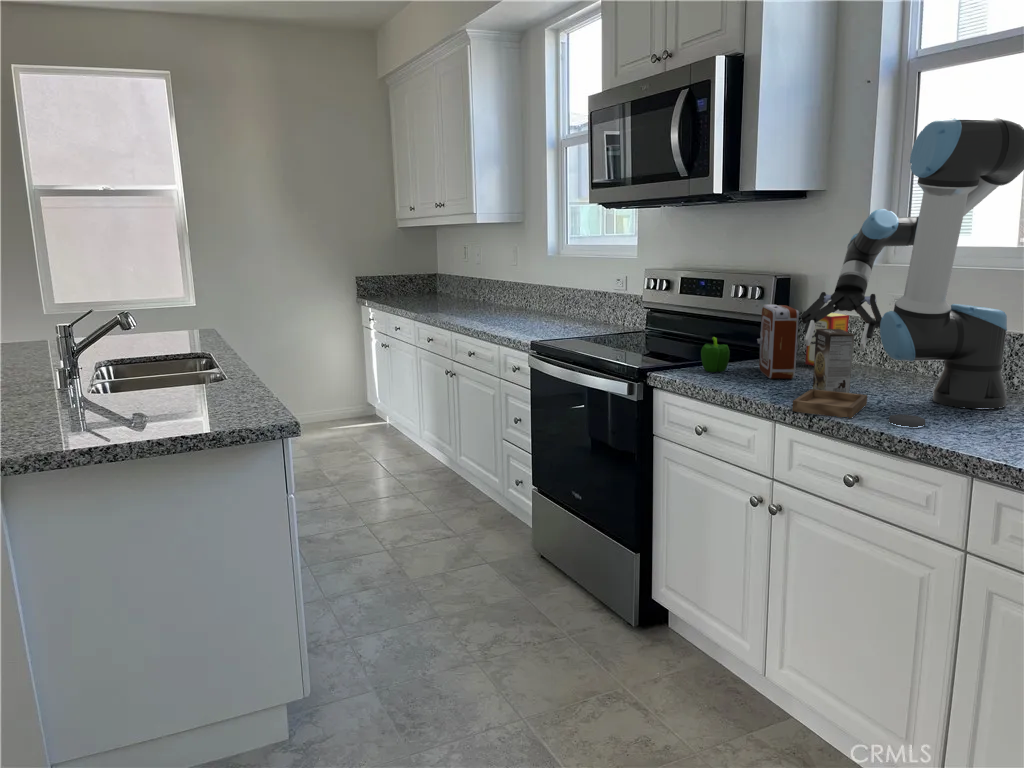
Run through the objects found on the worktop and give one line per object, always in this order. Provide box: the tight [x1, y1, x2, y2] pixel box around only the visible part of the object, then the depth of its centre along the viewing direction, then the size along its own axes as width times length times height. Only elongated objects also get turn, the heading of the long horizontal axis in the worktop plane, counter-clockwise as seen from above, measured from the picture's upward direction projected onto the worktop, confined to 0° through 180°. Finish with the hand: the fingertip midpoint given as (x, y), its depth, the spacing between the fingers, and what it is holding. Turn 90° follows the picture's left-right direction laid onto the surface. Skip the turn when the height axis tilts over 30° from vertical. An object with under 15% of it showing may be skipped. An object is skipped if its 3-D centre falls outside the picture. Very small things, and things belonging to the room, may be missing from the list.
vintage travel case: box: [756, 304, 800, 380], centre depth 217 cm, size 9×19×20 cm, turn 174°
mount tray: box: [791, 388, 868, 419], centre depth 178 cm, size 13×15×2 cm
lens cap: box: [888, 413, 926, 427], centre depth 163 cm, size 7×7×2 cm
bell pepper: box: [700, 336, 731, 373], centre depth 223 cm, size 8×8×10 cm
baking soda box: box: [804, 312, 850, 367], centre depth 228 cm, size 10×6×16 cm
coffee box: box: [812, 329, 855, 393], centre depth 191 cm, size 9×6×16 cm
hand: (834, 344), depth 195 cm, fingers open, 13 cm apart
